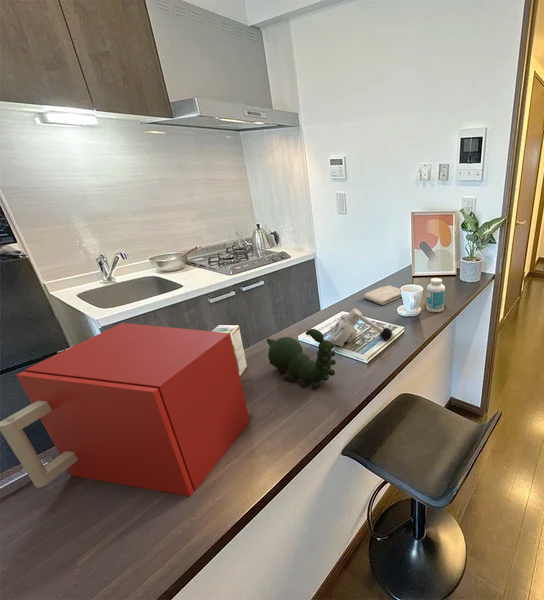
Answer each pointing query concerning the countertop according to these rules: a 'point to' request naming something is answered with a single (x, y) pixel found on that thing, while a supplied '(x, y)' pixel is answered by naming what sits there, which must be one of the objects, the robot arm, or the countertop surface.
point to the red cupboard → (169, 382)
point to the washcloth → (383, 295)
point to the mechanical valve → (346, 328)
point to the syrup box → (235, 344)
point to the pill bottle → (435, 295)
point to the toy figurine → (302, 359)
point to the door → (98, 433)
